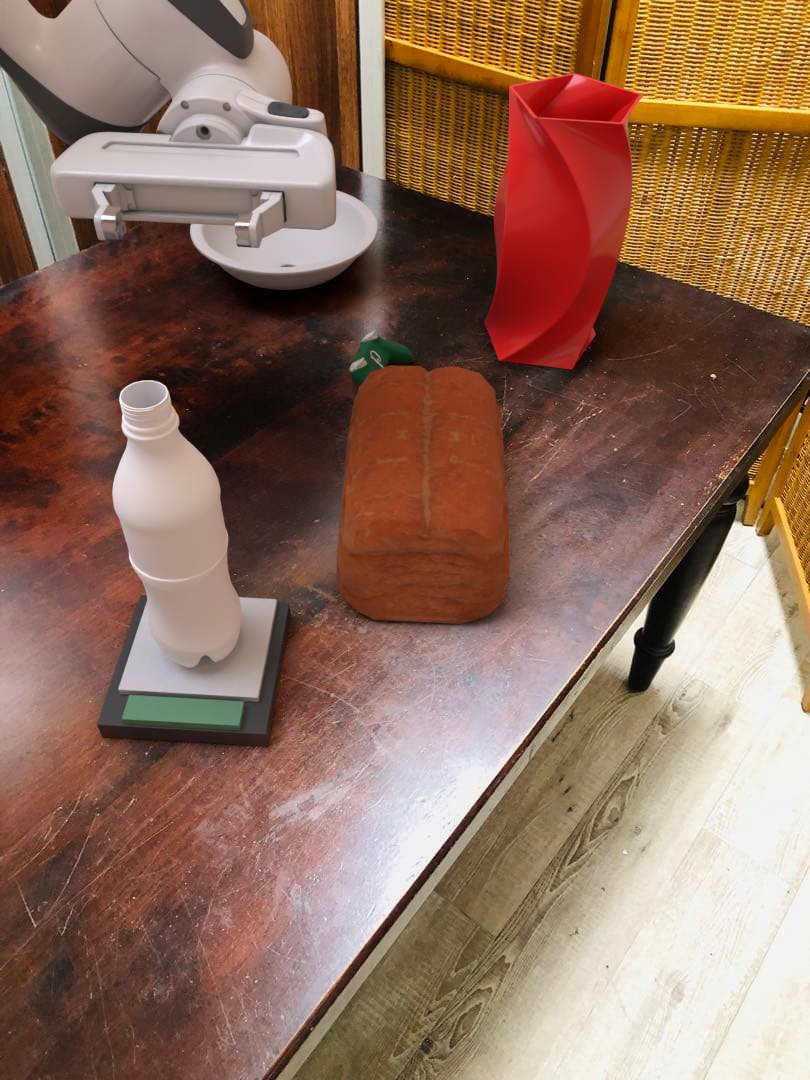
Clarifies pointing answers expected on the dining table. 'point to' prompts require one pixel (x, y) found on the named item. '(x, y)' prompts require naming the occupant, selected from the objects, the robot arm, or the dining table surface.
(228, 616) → the water bottle
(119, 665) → the kitchen scale
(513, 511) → the dining table surface
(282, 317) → the dining table surface
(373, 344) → the gaming controller
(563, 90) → the vase
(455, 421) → the bread
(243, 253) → the soup bowl
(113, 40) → the robot arm
